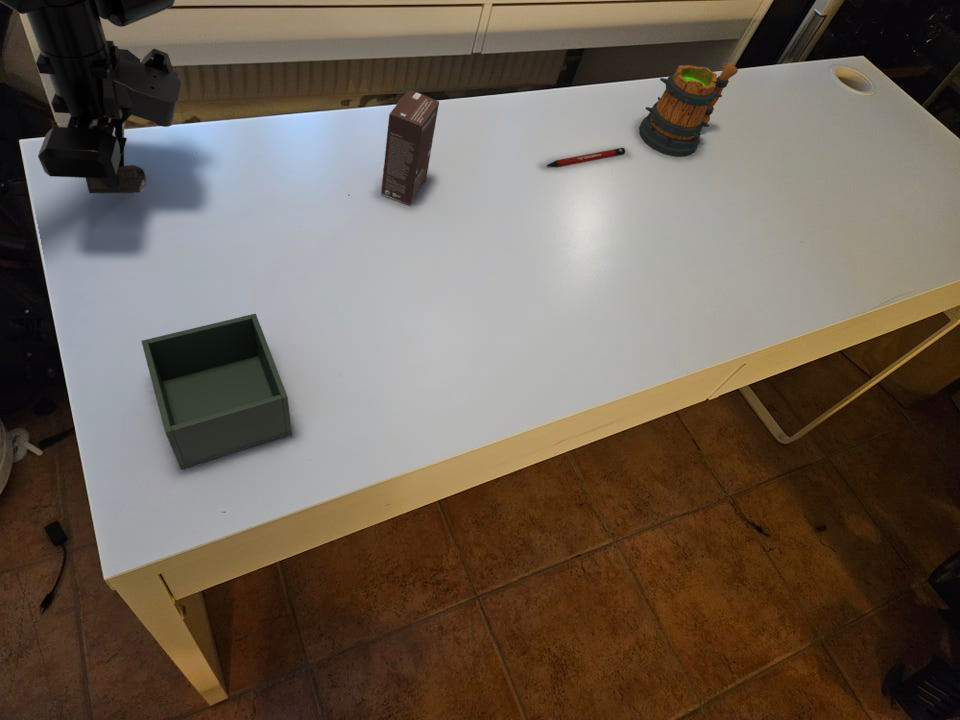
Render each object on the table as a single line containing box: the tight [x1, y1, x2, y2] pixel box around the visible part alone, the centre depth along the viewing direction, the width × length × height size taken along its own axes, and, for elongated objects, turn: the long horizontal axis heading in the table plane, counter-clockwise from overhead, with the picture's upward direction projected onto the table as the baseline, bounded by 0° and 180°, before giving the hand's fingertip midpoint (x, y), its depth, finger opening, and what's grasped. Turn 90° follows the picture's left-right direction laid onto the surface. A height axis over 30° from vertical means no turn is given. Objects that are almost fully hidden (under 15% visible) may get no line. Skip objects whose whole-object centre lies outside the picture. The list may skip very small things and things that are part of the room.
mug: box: [638, 62, 739, 158], centre depth 100 cm, size 13×10×12 cm
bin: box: [140, 313, 293, 470], centre depth 60 cm, size 10×10×7 cm
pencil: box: [545, 147, 626, 168], centre depth 96 cm, size 1×14×1 cm, turn 116°
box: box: [380, 89, 440, 206], centre depth 81 cm, size 6×4×12 cm
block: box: [85, 164, 148, 194], centre depth 74 cm, size 4×6×2 cm, turn 115°
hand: (116, 176), depth 74 cm, fingers closed on block, 3 cm apart
